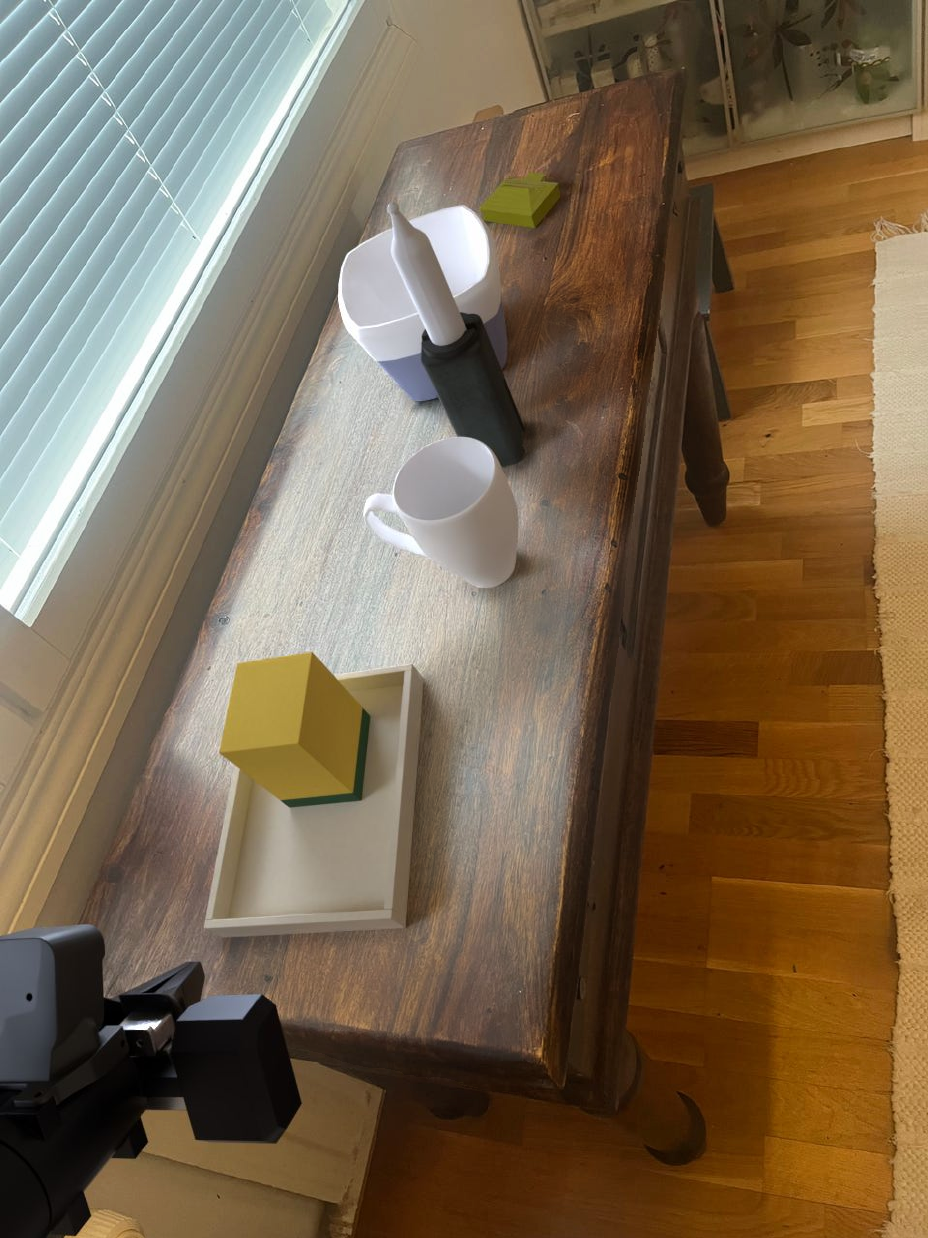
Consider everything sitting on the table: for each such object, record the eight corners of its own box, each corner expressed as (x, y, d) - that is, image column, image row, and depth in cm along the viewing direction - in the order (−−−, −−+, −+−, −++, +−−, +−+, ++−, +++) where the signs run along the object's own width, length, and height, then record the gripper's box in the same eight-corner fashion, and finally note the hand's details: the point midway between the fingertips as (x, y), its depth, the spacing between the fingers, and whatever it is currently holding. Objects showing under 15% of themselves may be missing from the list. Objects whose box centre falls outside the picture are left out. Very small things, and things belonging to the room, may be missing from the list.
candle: (526, 461, 82) (423, 214, 62) (471, 473, 83) (354, 235, 63) (524, 420, 84) (426, 171, 65) (471, 432, 86) (360, 192, 66)
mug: (543, 522, 77) (503, 427, 68) (534, 605, 73) (490, 516, 64) (411, 536, 81) (357, 448, 72) (395, 616, 77) (336, 533, 68)
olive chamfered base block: (466, 228, 104) (458, 205, 102) (511, 176, 107) (504, 153, 104) (538, 239, 98) (531, 215, 96) (583, 183, 101) (577, 159, 99)
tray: (405, 928, 62) (391, 918, 60) (222, 938, 66) (202, 928, 64) (424, 678, 73) (412, 663, 71) (264, 700, 77) (249, 686, 75)
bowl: (541, 378, 87) (507, 281, 78) (390, 435, 89) (340, 347, 81) (511, 283, 96) (478, 187, 87) (375, 337, 99) (329, 249, 90)
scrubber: (362, 801, 68) (298, 743, 60) (289, 808, 70) (218, 753, 62) (370, 715, 72) (312, 651, 64) (301, 724, 74) (236, 662, 66)
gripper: (134, 1007, 33) (314, 820, 48) (-246, 1018, 38) (21, 847, 53) (212, 1273, 35) (362, 1014, 49) (-161, 1247, 40) (74, 1021, 55)
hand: (197, 969), depth 52 cm, fingers closed
